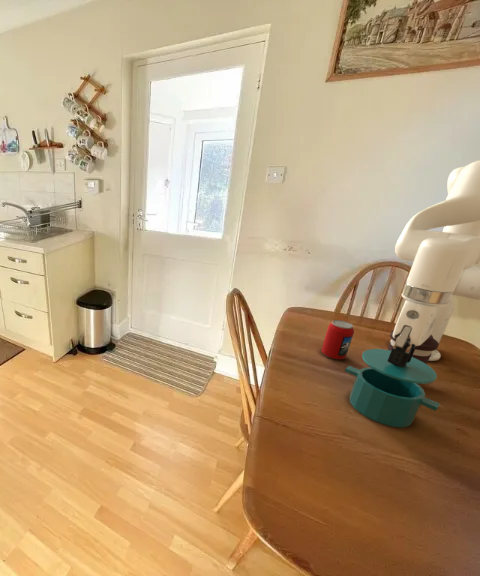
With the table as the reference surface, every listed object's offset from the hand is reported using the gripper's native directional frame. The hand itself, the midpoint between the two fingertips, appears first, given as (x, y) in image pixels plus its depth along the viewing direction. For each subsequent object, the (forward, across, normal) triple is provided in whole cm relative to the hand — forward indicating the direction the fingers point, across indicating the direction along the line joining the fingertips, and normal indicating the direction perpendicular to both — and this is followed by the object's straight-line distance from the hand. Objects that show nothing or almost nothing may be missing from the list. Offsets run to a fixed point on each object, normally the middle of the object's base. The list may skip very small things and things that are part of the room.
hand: (398, 361), depth 77 cm
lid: (+1, 0, 0) cm, 1 cm away
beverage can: (+15, +17, +18) cm, 29 cm away
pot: (+15, -1, 0) cm, 15 cm away
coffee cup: (+15, +21, +2) cm, 26 cm away
